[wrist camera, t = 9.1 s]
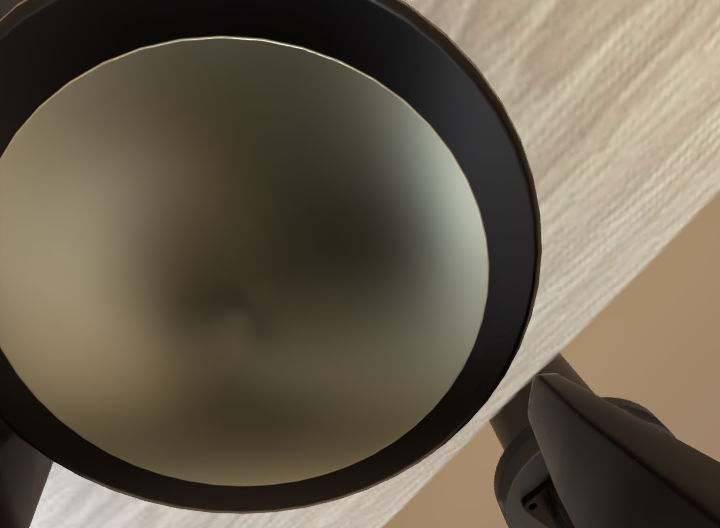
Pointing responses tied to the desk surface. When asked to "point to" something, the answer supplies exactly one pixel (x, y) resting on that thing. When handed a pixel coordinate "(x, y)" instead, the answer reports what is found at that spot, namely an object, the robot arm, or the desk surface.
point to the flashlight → (252, 244)
